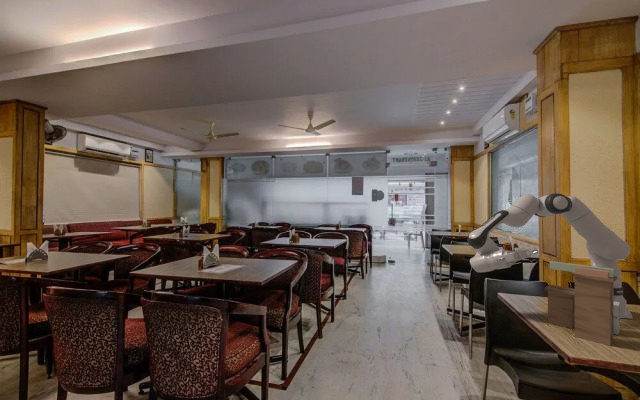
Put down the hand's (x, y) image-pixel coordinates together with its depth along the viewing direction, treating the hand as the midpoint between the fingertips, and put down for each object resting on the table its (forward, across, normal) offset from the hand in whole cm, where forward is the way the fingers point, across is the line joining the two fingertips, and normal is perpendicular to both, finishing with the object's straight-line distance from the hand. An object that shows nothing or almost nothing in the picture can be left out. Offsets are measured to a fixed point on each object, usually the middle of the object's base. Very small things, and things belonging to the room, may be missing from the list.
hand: (533, 251), depth 147 cm
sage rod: (+13, 0, +12) cm, 18 cm away
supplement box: (+10, +16, +39) cm, 43 cm away
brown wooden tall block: (+8, 0, +38) cm, 39 cm away
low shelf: (-4, +10, +33) cm, 35 cm away
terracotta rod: (+18, -4, +14) cm, 23 cm away
